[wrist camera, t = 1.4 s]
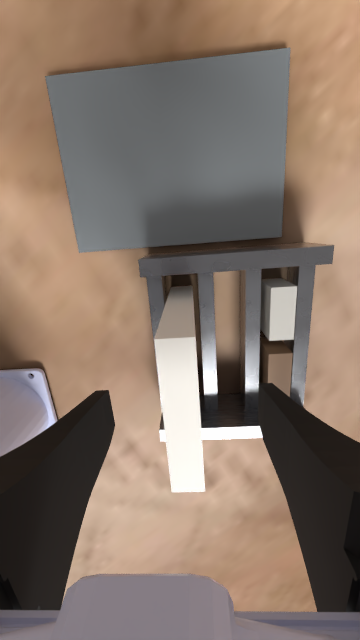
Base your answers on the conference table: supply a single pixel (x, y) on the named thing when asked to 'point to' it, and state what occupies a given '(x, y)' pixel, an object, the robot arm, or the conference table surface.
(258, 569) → the conference table surface
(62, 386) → the conference table surface
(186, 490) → the sheet
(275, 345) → the offcut walnut
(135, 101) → the mat
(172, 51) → the conference table surface
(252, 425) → the rack
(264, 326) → the offcut grey
